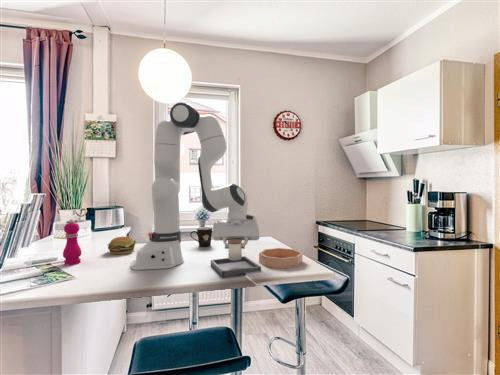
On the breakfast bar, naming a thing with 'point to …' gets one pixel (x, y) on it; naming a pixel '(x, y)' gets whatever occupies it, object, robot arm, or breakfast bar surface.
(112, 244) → the food
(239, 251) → the spice jar
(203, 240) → the coffee mug
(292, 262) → the bowl
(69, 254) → the pepper mill
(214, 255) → the breakfast bar surface
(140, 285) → the breakfast bar surface
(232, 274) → the tray
